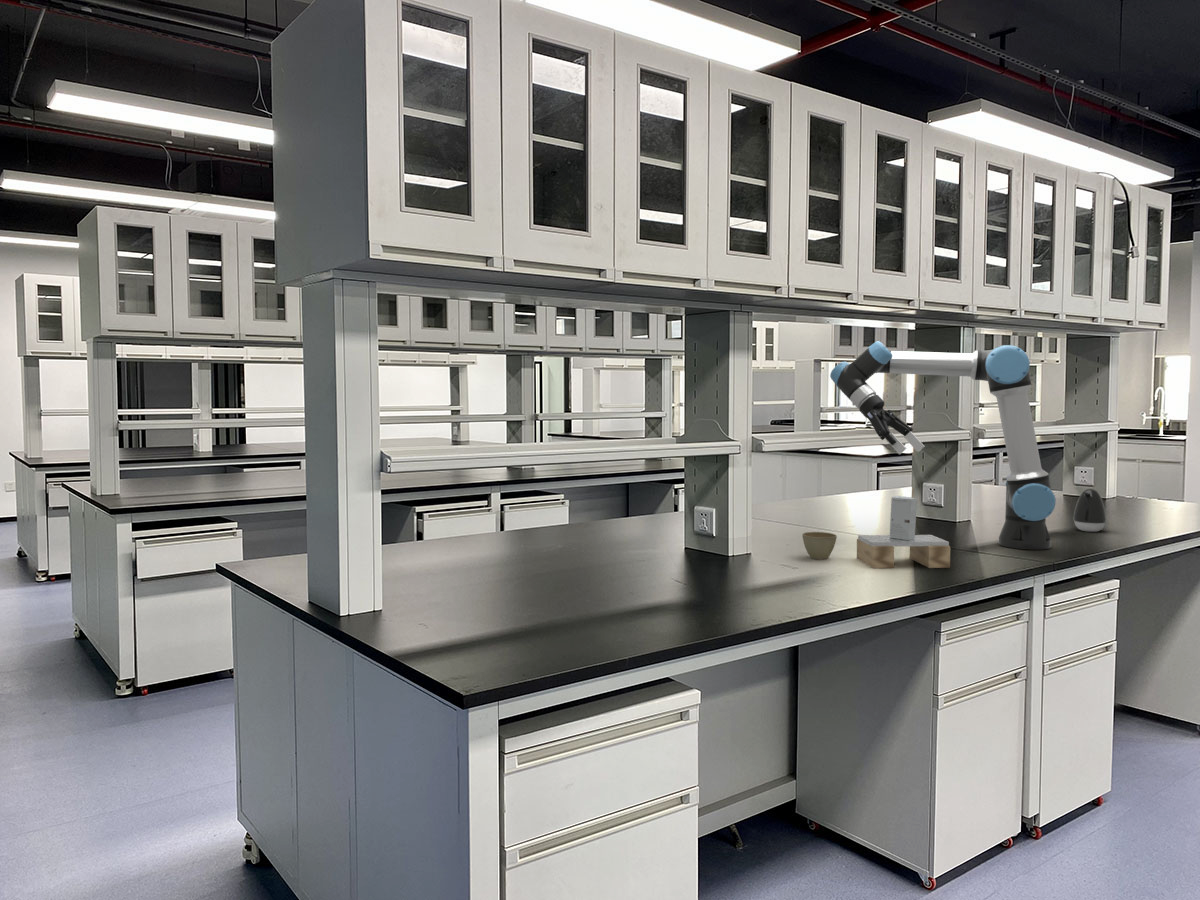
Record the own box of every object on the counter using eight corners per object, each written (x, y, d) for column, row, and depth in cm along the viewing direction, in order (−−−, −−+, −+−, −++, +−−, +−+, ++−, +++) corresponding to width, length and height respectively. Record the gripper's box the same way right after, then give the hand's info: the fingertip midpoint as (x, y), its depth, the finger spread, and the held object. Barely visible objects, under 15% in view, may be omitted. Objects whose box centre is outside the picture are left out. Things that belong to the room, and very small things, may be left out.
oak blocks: (929, 558, 249) (929, 538, 248) (949, 567, 235) (950, 546, 234) (856, 558, 248) (856, 538, 248) (872, 568, 234) (873, 547, 234)
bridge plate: (931, 538, 247) (931, 534, 247) (948, 546, 235) (948, 541, 235) (858, 539, 247) (858, 535, 247) (871, 546, 235) (872, 542, 235)
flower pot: (798, 559, 247) (799, 535, 246) (805, 553, 256) (806, 530, 255) (833, 562, 242) (833, 538, 242) (838, 556, 252) (839, 533, 251)
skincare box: (889, 538, 242) (889, 496, 241) (895, 536, 245) (896, 495, 244) (909, 540, 237) (910, 498, 237) (916, 538, 241) (917, 497, 240)
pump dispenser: (1068, 530, 298) (1069, 488, 297) (1078, 527, 305) (1079, 486, 304) (1100, 534, 291) (1101, 491, 290) (1109, 530, 298) (1111, 488, 297)
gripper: (877, 409, 278) (920, 456, 269) (841, 410, 260) (886, 460, 251) (892, 393, 274) (937, 440, 265) (857, 393, 256) (903, 443, 247)
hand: (912, 450), depth 258 cm, fingers open, 13 cm apart
